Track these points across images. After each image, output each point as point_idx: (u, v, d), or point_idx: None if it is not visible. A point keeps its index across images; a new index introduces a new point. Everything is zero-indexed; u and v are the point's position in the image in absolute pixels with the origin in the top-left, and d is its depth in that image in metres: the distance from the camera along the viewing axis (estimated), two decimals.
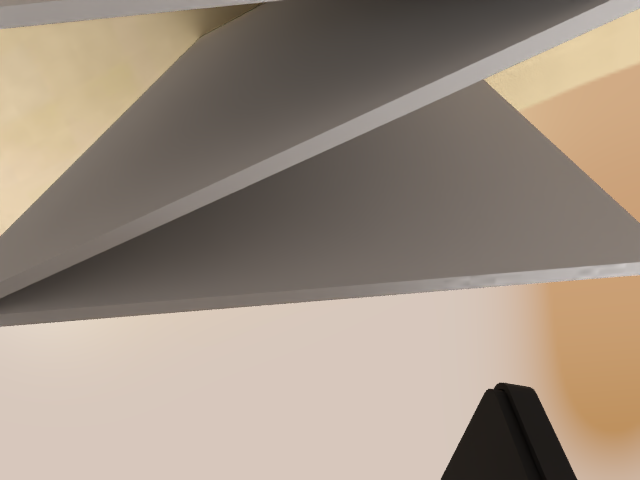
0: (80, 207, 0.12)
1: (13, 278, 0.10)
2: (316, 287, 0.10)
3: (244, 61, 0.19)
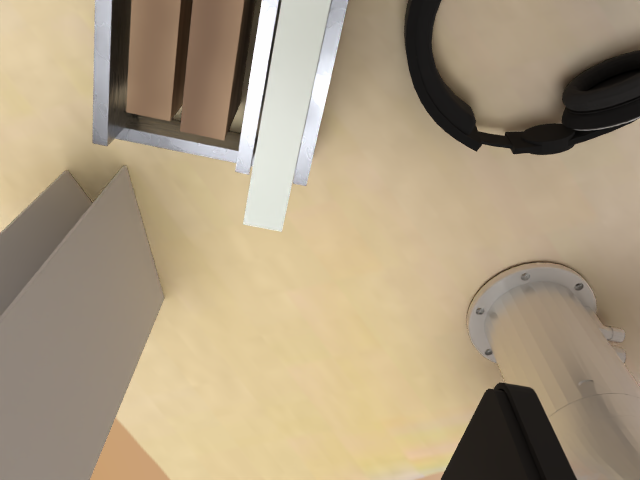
0: None
1: None
2: None
3: None
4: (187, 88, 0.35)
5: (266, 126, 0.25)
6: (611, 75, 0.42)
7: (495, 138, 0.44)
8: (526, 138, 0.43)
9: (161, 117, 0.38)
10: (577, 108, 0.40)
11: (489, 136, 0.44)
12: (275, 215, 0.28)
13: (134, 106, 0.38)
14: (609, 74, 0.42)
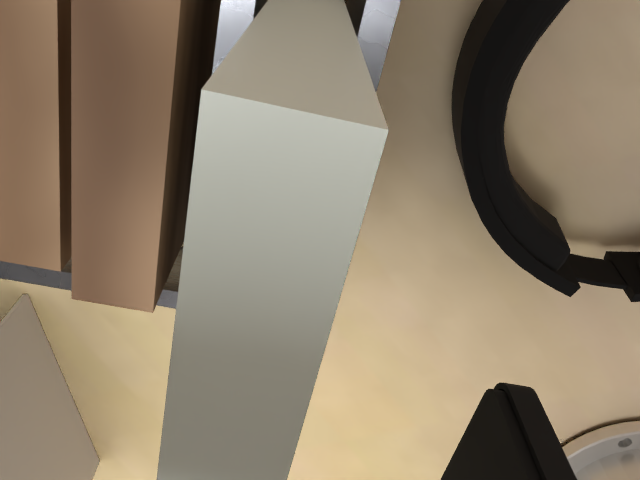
0: None
1: None
2: None
3: None
4: (77, 231, 0.19)
5: None
6: None
7: (595, 267, 0.28)
8: None
9: (44, 265, 0.22)
10: None
11: (583, 262, 0.28)
12: None
13: None
14: None
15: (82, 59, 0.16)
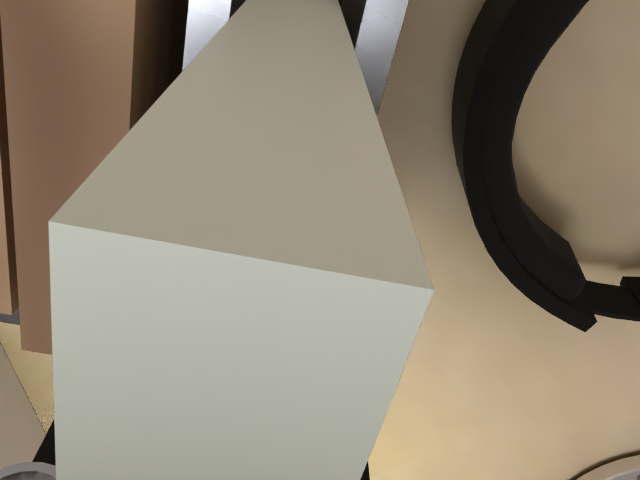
0: None
1: None
2: None
3: None
4: (24, 274, 0.16)
5: None
6: None
7: (611, 296, 0.25)
8: None
9: None
10: None
11: (598, 290, 0.25)
12: None
13: None
14: None
15: (17, 74, 0.13)
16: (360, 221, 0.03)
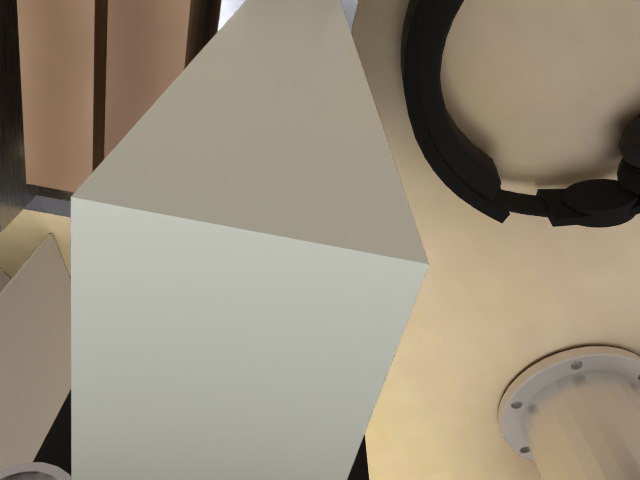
0: None
1: None
2: None
3: None
4: None
5: None
6: None
7: (525, 201, 0.32)
8: (569, 203, 0.31)
9: None
10: None
11: (516, 197, 0.33)
12: None
13: (37, 175, 0.26)
14: None
15: (116, 10, 0.21)
16: (360, 203, 0.04)
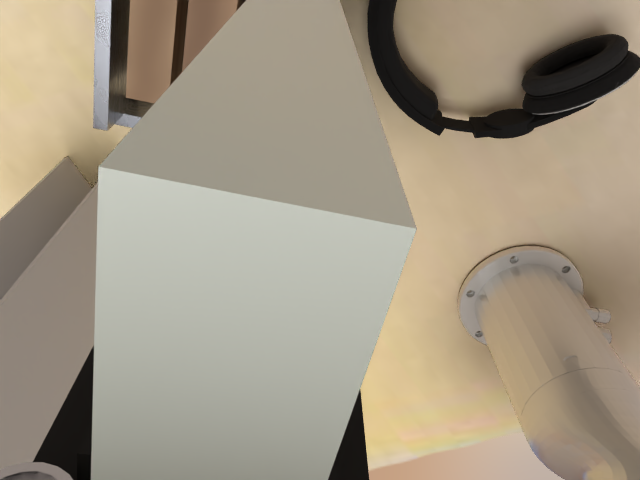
0: None
1: None
2: None
3: None
4: None
5: None
6: (569, 61, 0.44)
7: (458, 123, 0.45)
8: (488, 122, 0.44)
9: None
10: (535, 93, 0.42)
11: (452, 121, 0.46)
12: None
13: (133, 92, 0.39)
14: (568, 59, 0.44)
15: None
16: (355, 178, 0.04)
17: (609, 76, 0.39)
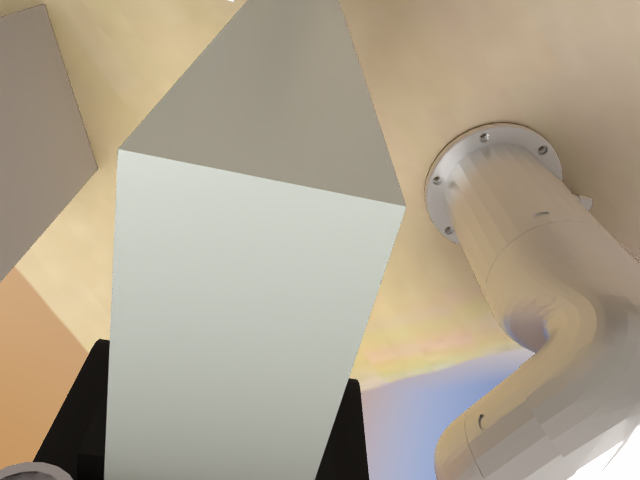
0: None
1: None
2: None
3: None
4: None
5: None
6: None
7: None
8: None
9: None
10: None
11: None
12: None
13: None
14: None
15: None
16: (351, 162, 0.04)
17: None
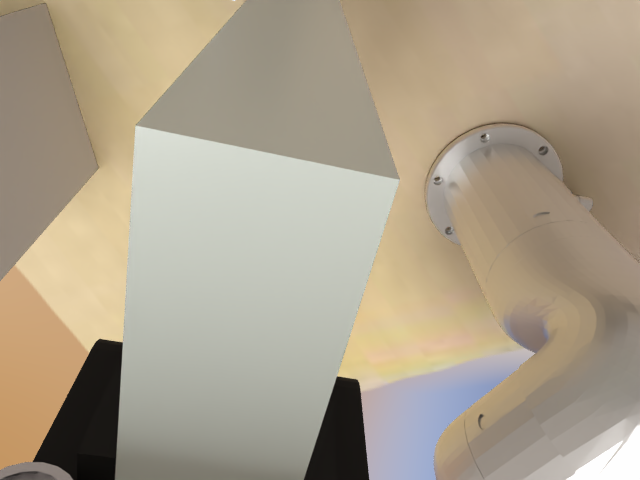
0: None
1: None
2: None
3: None
4: None
5: None
6: None
7: None
8: None
9: None
10: None
11: None
12: None
13: None
14: None
15: None
16: (349, 141, 0.05)
17: None
